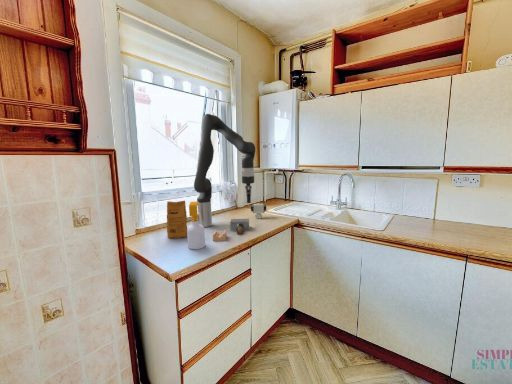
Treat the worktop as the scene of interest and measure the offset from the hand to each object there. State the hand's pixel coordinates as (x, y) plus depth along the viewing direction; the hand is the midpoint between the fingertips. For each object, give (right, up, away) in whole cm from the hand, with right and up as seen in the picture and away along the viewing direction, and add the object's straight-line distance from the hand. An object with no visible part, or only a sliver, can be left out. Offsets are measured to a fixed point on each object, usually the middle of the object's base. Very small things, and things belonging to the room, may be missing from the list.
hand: (248, 201), depth 144 cm
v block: (-17, -22, -6) cm, 28 cm away
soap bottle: (-28, -24, -17) cm, 40 cm away
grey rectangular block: (-6, -19, +11) cm, 22 cm away
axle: (-6, -19, +8) cm, 22 cm away
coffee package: (-44, -21, +1) cm, 49 cm away
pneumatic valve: (+7, -15, +36) cm, 40 cm away
